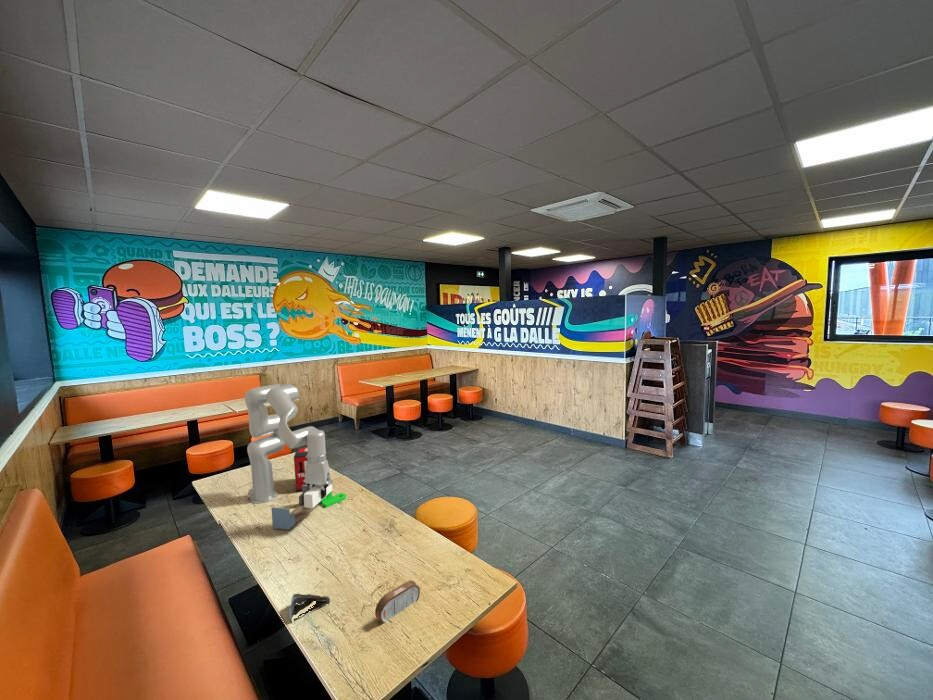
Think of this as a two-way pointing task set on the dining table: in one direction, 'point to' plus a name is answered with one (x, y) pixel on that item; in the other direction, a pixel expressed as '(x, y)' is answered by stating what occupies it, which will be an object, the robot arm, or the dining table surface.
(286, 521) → the sliding end cap
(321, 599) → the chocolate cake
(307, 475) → the robot arm
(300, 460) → the cleaning product box
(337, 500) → the mechanical part
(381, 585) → the dining table surface
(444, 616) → the dining table surface
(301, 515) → the endcap rack
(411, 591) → the tin
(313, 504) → the slat
